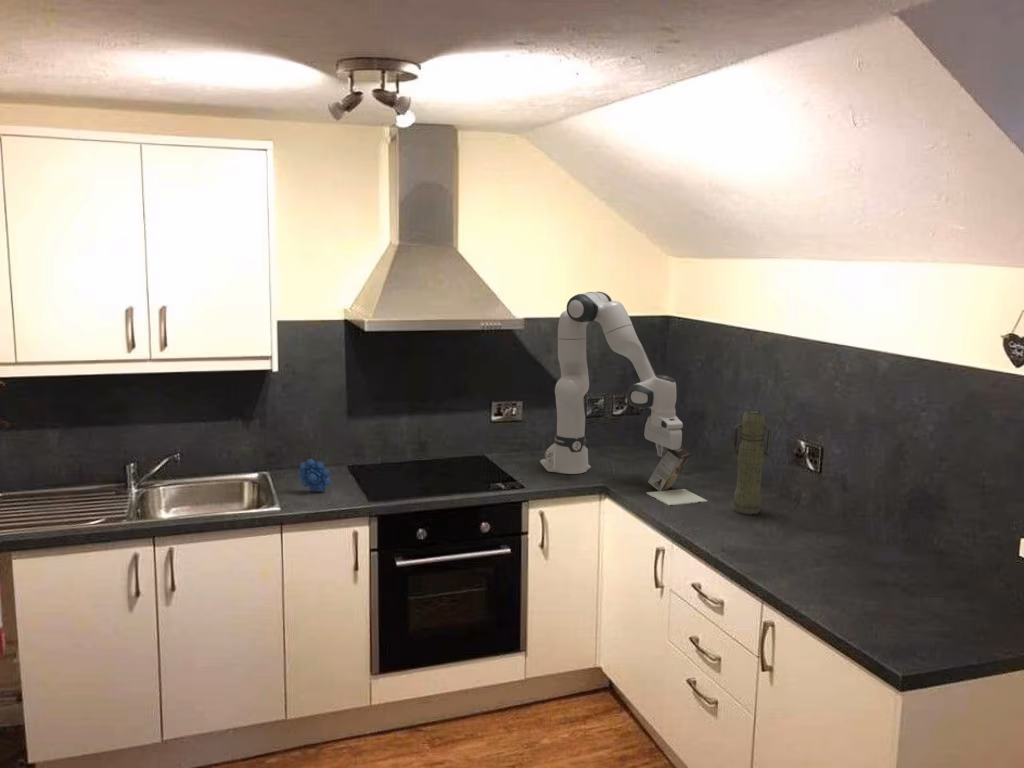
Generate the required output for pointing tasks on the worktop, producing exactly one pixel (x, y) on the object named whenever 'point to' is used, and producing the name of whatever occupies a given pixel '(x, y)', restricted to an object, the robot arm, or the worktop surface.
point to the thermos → (750, 461)
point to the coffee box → (669, 468)
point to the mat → (676, 497)
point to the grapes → (314, 475)
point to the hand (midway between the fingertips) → (661, 456)
